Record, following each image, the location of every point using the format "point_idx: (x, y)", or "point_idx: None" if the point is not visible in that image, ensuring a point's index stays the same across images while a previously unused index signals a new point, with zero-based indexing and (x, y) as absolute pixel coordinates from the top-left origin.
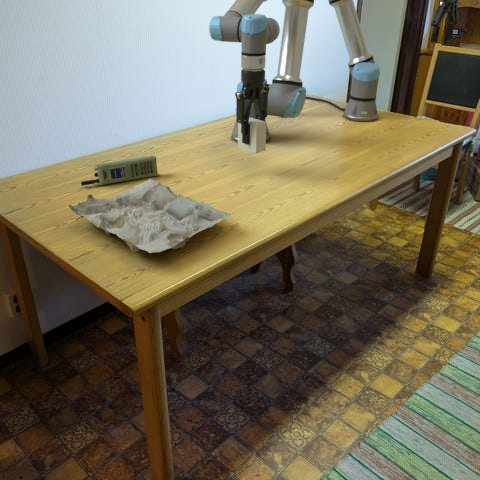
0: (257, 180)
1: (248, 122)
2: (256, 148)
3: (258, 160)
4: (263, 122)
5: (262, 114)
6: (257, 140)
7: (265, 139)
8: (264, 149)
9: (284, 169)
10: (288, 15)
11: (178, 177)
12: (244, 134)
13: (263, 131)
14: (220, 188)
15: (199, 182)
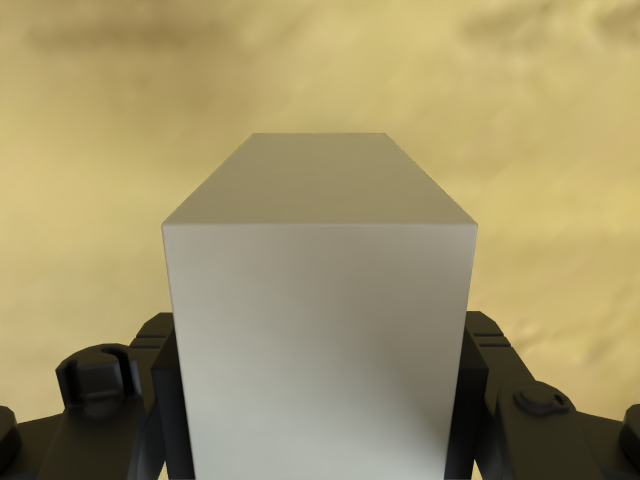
0: (382, 72)
1: (450, 421)
2: (388, 139)
3: (144, 292)
4: (242, 239)
5: (50, 475)
6: (387, 156)
7: (240, 151)
8: (265, 134)
9: (107, 78)
10: None
11: (626, 390)
12: (481, 315)
13: (270, 177)
14: (627, 144)
15: (621, 282)
